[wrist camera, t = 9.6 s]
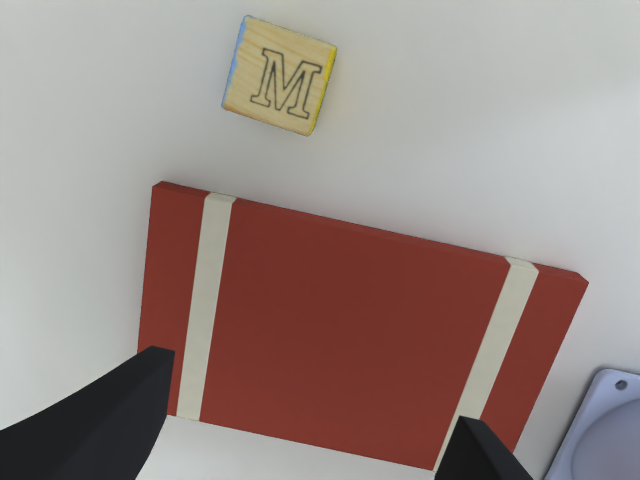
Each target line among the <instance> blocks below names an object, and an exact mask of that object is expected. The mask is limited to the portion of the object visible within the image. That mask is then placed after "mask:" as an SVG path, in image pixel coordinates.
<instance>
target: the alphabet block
mask: <svg viewBox="0 0 640 480" xmlns="http://www.w3.org/2000/svg"><path fill="white" fill-rule="evenodd" d="M336 52H337V48H336V46H334V45H332V44H329V43H326V42H323V41H320V40H317V39H314V38H311V37H308V36H305V35H302V34H299V33H297V32H294V31H291V30H288V29H285V28H282V27H280V26H277V25H274V24H271V23H268V22H265V21H263V20H260V19H257V18H255V17H252V16H249V15H246V16H244V18H243V20H242V23H241V27H240V31H239V35H238V40H237V44H236V48H235V52H234V57H233V60H232V65H231V69H230V73H229V77H228V81H227V85H226V90H225V94H224V97H223V100H222V104H221V106H222V108H224V109H225V110H229V111H232V112H235V113H238V114H241V115H244V116H247V117H250V118H253V119H256V120H259V121H262V122H265V123H268V124H272V125H274V126H277V127H280V128H283V129H286V130H290V131H293V132H295V133H298V134H301V135H304V136H309V135H311V133H312V131H313V129H314V127H315V124H316V121H317V117H318V114H319V111H320V107H321V104H322V100H323V97H324V94H325V91H326V87H327V84H328V81H329V77H330V74H331V71H332V67H333V64H334V61H335V58H336Z"/></svg>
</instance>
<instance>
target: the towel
mask: <svg viewBox="0 0 640 480" xmlns="http://www.w3.org/2000/svg"><path fill="white" fill-rule="evenodd" d="M588 284H589V282H588V281H587V280H586V279H584V278H583V277H582V276H581V275H580V274H578V273H576V272H571V271H567V270H562V269H558V268H553V267H548V266H544V265H539V264H535V263H530V262H528V261H524V260H519V259H515V258H510V257H506V256H499V255H494V254H489V253H485V252H480V251H476V250H471V249H467V248H462V247H458V246H453V245H449V244H444V243H440V242H435V241H430V240H426V239H421V238H417V237H412V236H408V235H403V234H399V233H394V232H390V231H385V230H381V229H376V228H371V227H367V226H362V225H358V224H353V223H349V222H344V221H340V220H335V219H331V218H326V217H322V216H317V215H312V214H308V213H303V212H299V211H294V210H290V209H285V208H281V207H276V206H272V205H267V204H262V203H258V202H253V201H249V200H244V199H240V198H236V197H232V196H228V195H223V194H219V193H214V192H208V191H203V190H199V189H194V188H190V187H185V186H181V185H176V184H172V183H167V182H163V181H162V182H160V183H158V184H156V185H154V186H153V187H152V197H151V208H150V219H149V229H148V240H147V251H146V262H145V273H144V284H143V295H142V306H141V317H140V328H139V339H138V350H137V354H138V353H139V352H141V351H143V350H144V349H146V348H148V347H149V346H151V345H152V346H157V347H161V348H165V349H170V350H174V351H175V358H174V365H173V372H172V380H171V387H170V394H169V402H168V409H167V415H172V416H176V417H180V418H184V419H189V420H194V421H200V422H205V423H209V424H214V425H219V426H223V427H228V428H233V429H238V430H242V431H247V432H252V433H257V434H261V435H266V436H271V437H275V438H280V439H285V440H290V441H294V442H299V443H304V444H308V445H313V446H318V447H323V448H327V449H332V450H337V451H341V452H346V453H351V454H356V455H360V456H365V457H370V458H374V459H379V460H384V461H389V462H393V463H398V464H403V465H407V466H412V467H417V468H422V469H426V470H431V471H433V472H437V470H438V467H439V465H440V462H441V460H442V457H443V455H444V452H445V450H446V447H447V445H448V442H449V440H450V437H451V435H452V432H453V430H454V427H455V425H456V422H457V420H458V417H459V415H461V416H465V417H470V418H474V419H478V420H483V421H484V422H485V423H486V424H487V425H488V426H489V427H490V429H491V430H492V431H493V432H494V433H495V434H496V435H497V437H498V438H499V439H500V440H501V441H502V443H503V444H504V445H505V446H506V447H507V448H508V450H509V451H510V452H511V453H513V451H514V449H515V446H516V444H517V442H518V440H519V438H520V435H521V433H522V431H523V429H524V426H525V424H526V422H527V420H528V417H529V415H530V413H531V411H532V409H533V406H534V404H535V402H536V400H537V397H538V395H539V393H540V391H541V389H542V386H543V384H544V382H545V380H546V377H547V375H548V373H549V371H550V368H551V366H552V364H553V362H554V360H555V357H556V355H557V353H558V351H559V348H560V346H561V344H562V342H563V340H564V337H565V335H566V333H567V331H568V328H569V326H570V324H571V322H572V319H573V317H574V315H575V313H576V311H577V308H578V306H579V304H580V302H581V299H582V297H583V295H584V293H585V291H586V288H587V286H588Z"/></svg>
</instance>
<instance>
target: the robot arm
mask: <svg viewBox="0 0 640 480" xmlns="http://www.w3.org/2000/svg"><path fill="white" fill-rule="evenodd" d="M174 358H175V351H174V350H170V349H165V348H161V347H157V346H152V345H151V346H149V347H148V348H146V349H144V350H143V351H141V352H139V353H138V354H136V355H135V356H133V357H132V358H130V359H129V360H127V361H126V362H124V363H122V364H121V365H119V366H118V367H116V368H115V369H113V370H112V371H110V372H108V373H107V374H105V375H104V376H102V377H100V378H99V379H97V380H95V381H94V382H92V383H90V384H89V385H87V386H85V387H84V388H82V389H81V390H79V391H77V392H75V393H74V394H72V395H70V396H68V397H66V398H65V399H63V400H61V401H59V402H57V403H55V404H54V405H52V406H50V407H48V408H46V409H44V410H43V411H41V412H39V413H37V414H35V415H33V416H31V417H29V418H27V419H25V420H22V421H20V422H18V423H16V424H14V425H12V426H9V427H7V428H5V429H3V430H0V480H135V479H136V477H137V475H138V474H139V472H140V470H141V469H142V467H143V465H144V464H145V462H146V460H147V458H148V457H149V455H150V453H151V450H152V448H153V446H154V444H155V442H156V440H157V437H158V435H159V433H160V430H161V428H162V426H163V424H164V421H165V419H166V416H167V409H168V402H169V394H170V387H171V380H172V372H173V365H174ZM620 380H622V382H621V383H620V384H617V385H615V384H616V383H617V382H618V381H620ZM435 480H534V479H533V478H532V477H531V476H530V475H529V473H528V472H527V471H526V470H525V469H524V468H523V466H522V465H521V464H520V463H519V462H518V460H517V459H516V458H515V457H514V456H513V454H512V453H511V452H510V451H509V450H508V448H507V447H506V446H505V445H504V444H503V443H502V441H501V440H500V439H499V438H498V437H497V435H496V434H495V433H494V432H493V431H492V430H491V429H490V427H489V426H488V425H487V424H486V423H485V422H484V421H483V420H478V419H474V418H470V417H465V416H461V415H459V417H458V420H457V422H456V425H455V427H454V430H453V432H452V435H451V437H450V440H449V442H448V445H447V447H446V450H445V452H444V455H443V457H442V460H441V462H440V465H439V467H438V470H437V472H436V475H435ZM545 480H640V375H636V374H631V373H626V372H622V371H617V370H613V369H604V370H601V371H600V372H598V373H597V374H596V376H595V378H594V380H593V382H592V384H591V386H590V388H589V390H588V392H587V394H586V396H585V398H584V400H583V402H582V404H581V406H580V408H579V410H578V412H577V414H576V416H575V418H574V420H573V422H572V425H571V427H570V429H569V431H568V433H567V435H566V437H565V439H564V441H563V443H562V445H561V447H560V449H559V451H558V453H557V455H556V457H555V459H554V461H553V463H552V465H551V467H550V469H549V471H548V473H547V475H546V477H545Z"/></svg>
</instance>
